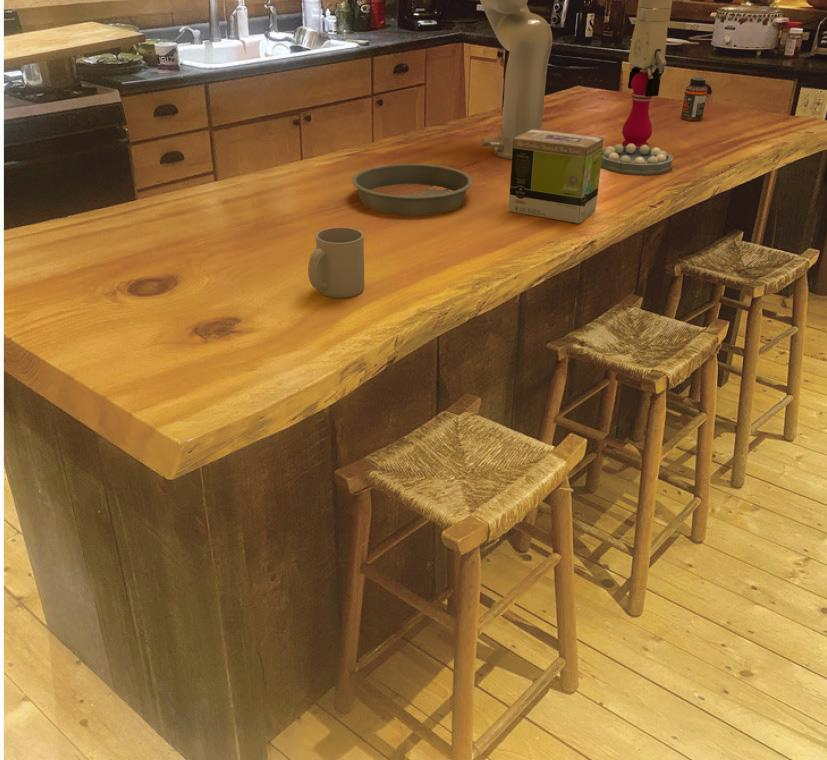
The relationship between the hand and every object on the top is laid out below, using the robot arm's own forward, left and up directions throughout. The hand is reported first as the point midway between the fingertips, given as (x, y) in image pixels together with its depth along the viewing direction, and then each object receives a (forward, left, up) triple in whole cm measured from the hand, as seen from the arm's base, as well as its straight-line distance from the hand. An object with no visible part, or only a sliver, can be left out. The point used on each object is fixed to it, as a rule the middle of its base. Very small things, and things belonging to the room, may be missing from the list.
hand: (642, 92), depth 202 cm
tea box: (-37, -44, -14) cm, 59 cm away
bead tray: (-7, -14, -14) cm, 21 cm away
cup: (-84, -76, -14) cm, 114 cm away
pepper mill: (0, 0, -14) cm, 14 cm away
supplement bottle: (+31, +30, -14) cm, 45 cm away
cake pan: (-63, -31, -14) cm, 72 cm away
